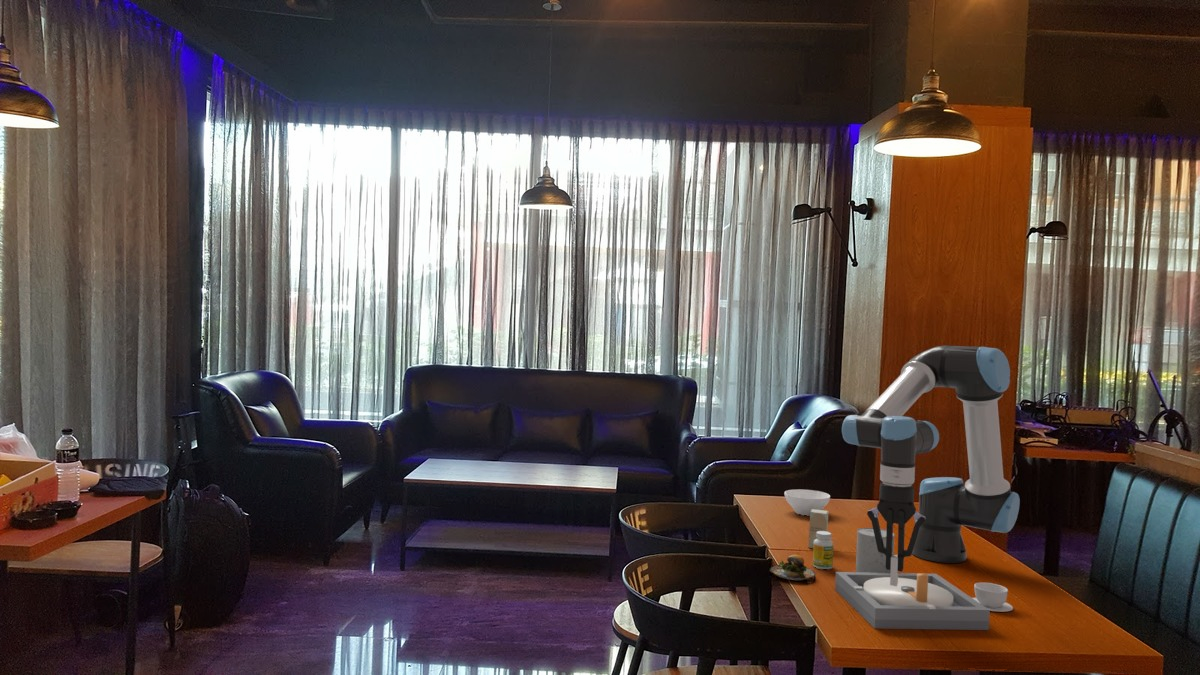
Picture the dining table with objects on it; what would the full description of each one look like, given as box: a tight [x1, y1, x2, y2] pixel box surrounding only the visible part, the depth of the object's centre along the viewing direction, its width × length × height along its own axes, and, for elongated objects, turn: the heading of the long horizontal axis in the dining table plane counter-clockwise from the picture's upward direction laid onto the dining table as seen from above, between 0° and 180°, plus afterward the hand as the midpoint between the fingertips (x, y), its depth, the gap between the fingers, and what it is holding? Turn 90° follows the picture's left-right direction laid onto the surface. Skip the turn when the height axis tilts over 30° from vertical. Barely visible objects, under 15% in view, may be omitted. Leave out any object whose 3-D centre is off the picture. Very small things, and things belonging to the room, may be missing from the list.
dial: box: [864, 572, 953, 606], centre depth 192 cm, size 20×20×8 cm
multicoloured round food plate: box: [769, 547, 817, 584], centre depth 214 cm, size 12×12×8 cm
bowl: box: [783, 488, 831, 517], centre depth 288 cm, size 16×16×7 cm
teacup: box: [972, 582, 1014, 613], centre depth 196 cm, size 10×10×5 cm
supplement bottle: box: [812, 531, 834, 570], centre depth 223 cm, size 5×5×10 cm
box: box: [807, 509, 829, 549], centre depth 243 cm, size 5×4×11 cm
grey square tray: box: [834, 571, 991, 631], centre depth 192 cm, size 26×26×5 cm
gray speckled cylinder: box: [855, 527, 895, 573], centre depth 215 cm, size 10×10×12 cm
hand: (894, 583), depth 187 cm, fingers closed
